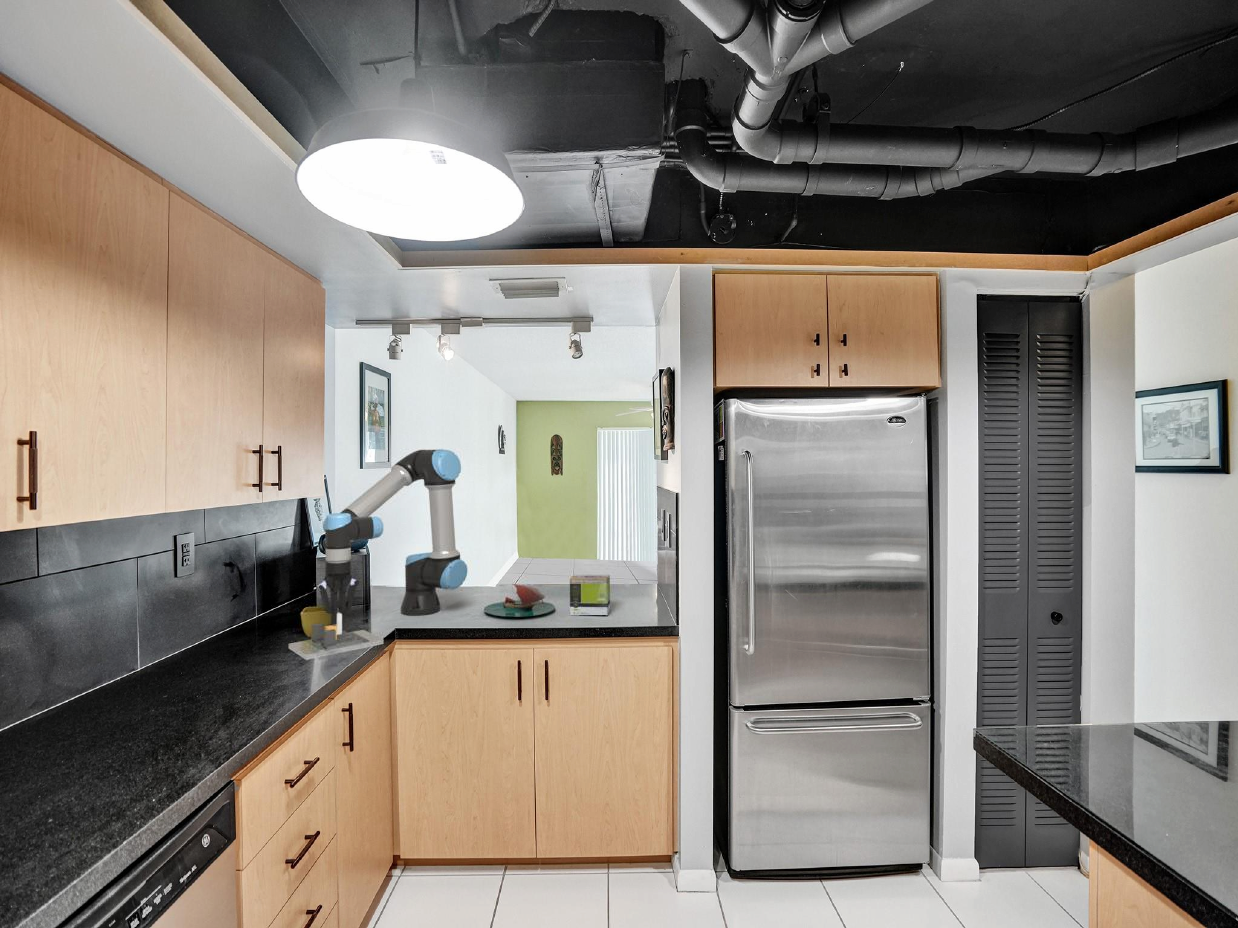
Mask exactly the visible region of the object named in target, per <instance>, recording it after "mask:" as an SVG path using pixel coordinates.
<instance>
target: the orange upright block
mask: <svg viewBox="0 0 1238 928" xmlns="http://www.w3.org/2000/svg"><path fill="white" fill-rule="evenodd" d="M331 629H334V630H336V640H337V626H336V625H334V624H332V625H331V624H330V626H325V630H331Z"/></svg>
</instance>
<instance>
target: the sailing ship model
mask: <svg viewBox="0 0 1238 928" xmlns="http://www.w3.org/2000/svg"><path fill="white" fill-rule="evenodd" d="M513 585H514V587H515V588H516V594H517V597H518V598H519V599H513V598H511V597H507V596H505V600H504V601H500V602H495V603H491V604H488V605H486V606H485V607H484V608H483V611H484V612H485V613H487V614H490V615H493V616H499V617H510V618H511V617H512V618H513V617H514V618H515V617H516V618H517V617H519V618H520V617H532V616H540V615H543V614H548V613H550V612H552V611H553V610H555V607H556V606H555V605H554V604H553V603H550V602H548V601H547V602H546V601H544V599H545V598H546V596H545V594H543V593H541V591H539V589H538V588H535V587H531V586H527V585H522V584H515V583H513ZM511 589H512V591H513V587H512V588H511Z"/></svg>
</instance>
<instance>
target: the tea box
mask: <svg viewBox="0 0 1238 928" xmlns="http://www.w3.org/2000/svg"><path fill="white" fill-rule="evenodd" d="M610 578H611V575H610V574H572V576H571V577H570V578H569V615H570V616H579V615H608V616H609V613H610V611H609V610H611V579H610ZM608 612H609V613H608Z"/></svg>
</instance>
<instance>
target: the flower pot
mask: <svg viewBox="0 0 1238 928" xmlns="http://www.w3.org/2000/svg"><path fill="white" fill-rule="evenodd" d="M330 607H331V605H330ZM300 620H301V626H302V629H303V632H304V634H305V635H306V636H307V637H309V638H311V637H312V625H314V624H320V623H323V624H324V631H325V626H331V624H332V623H331V614H329V613H327V612H325V609H324V605H322V606H308V607H305V608H303V610H302V611H301V612H300Z"/></svg>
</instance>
